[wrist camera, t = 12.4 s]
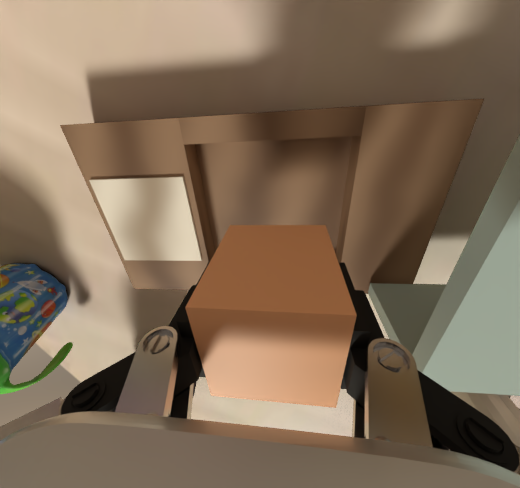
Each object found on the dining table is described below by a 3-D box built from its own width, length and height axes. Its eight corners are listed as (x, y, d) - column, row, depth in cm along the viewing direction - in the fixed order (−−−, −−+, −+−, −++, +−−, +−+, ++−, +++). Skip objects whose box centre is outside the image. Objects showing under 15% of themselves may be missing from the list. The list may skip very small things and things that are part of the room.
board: (448, 100, 14) (487, 98, 12) (393, 272, 22) (409, 296, 19) (93, 123, 17) (57, 125, 14) (150, 269, 24) (132, 290, 21)
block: (325, 224, 11) (357, 315, 6) (318, 298, 14) (336, 407, 9) (230, 225, 12) (185, 307, 7) (239, 295, 14) (211, 395, 9)
